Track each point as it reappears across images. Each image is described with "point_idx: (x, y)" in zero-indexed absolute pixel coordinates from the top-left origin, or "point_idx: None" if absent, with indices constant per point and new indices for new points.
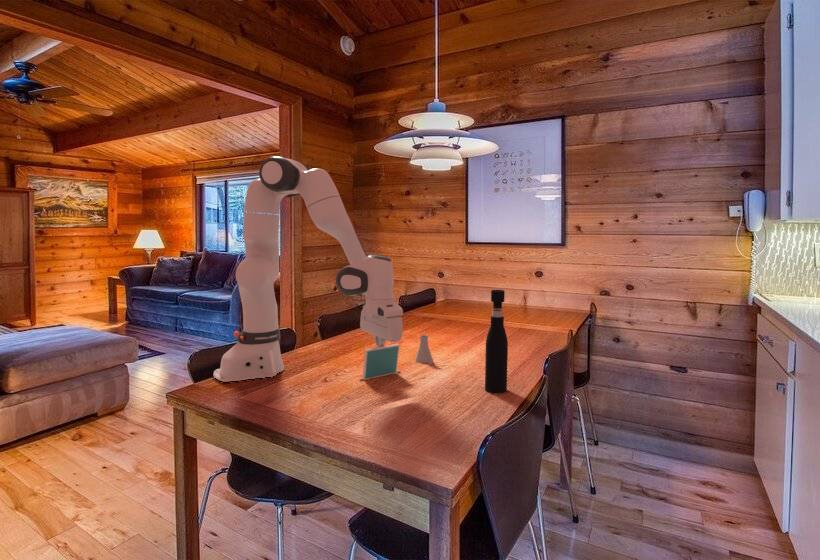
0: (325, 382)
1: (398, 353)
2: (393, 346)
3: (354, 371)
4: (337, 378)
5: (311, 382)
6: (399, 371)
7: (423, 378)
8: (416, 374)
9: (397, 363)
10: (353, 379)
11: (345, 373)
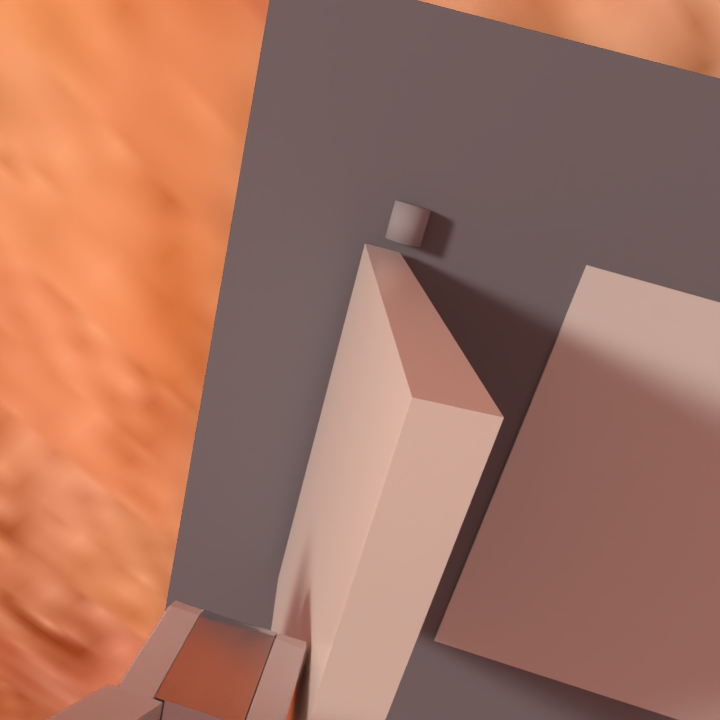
0: (97, 670)
1: (446, 330)
2: (436, 568)
3: (5, 385)
4: (75, 578)
5: (41, 709)
6: (418, 220)
7: (708, 72)
8: (539, 7)
9: (415, 278)
10: (173, 532)
11: (8, 466)
